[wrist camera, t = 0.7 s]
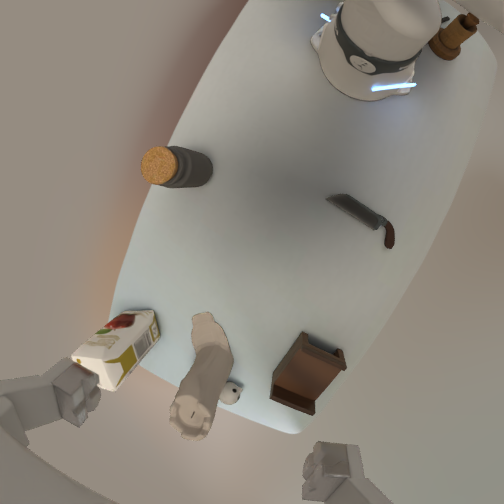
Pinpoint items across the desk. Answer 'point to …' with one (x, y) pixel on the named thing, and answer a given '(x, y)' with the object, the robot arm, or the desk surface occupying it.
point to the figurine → (230, 393)
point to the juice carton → (119, 347)
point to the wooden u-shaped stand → (305, 375)
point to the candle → (202, 380)
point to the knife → (364, 215)
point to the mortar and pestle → (453, 36)
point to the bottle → (176, 167)
